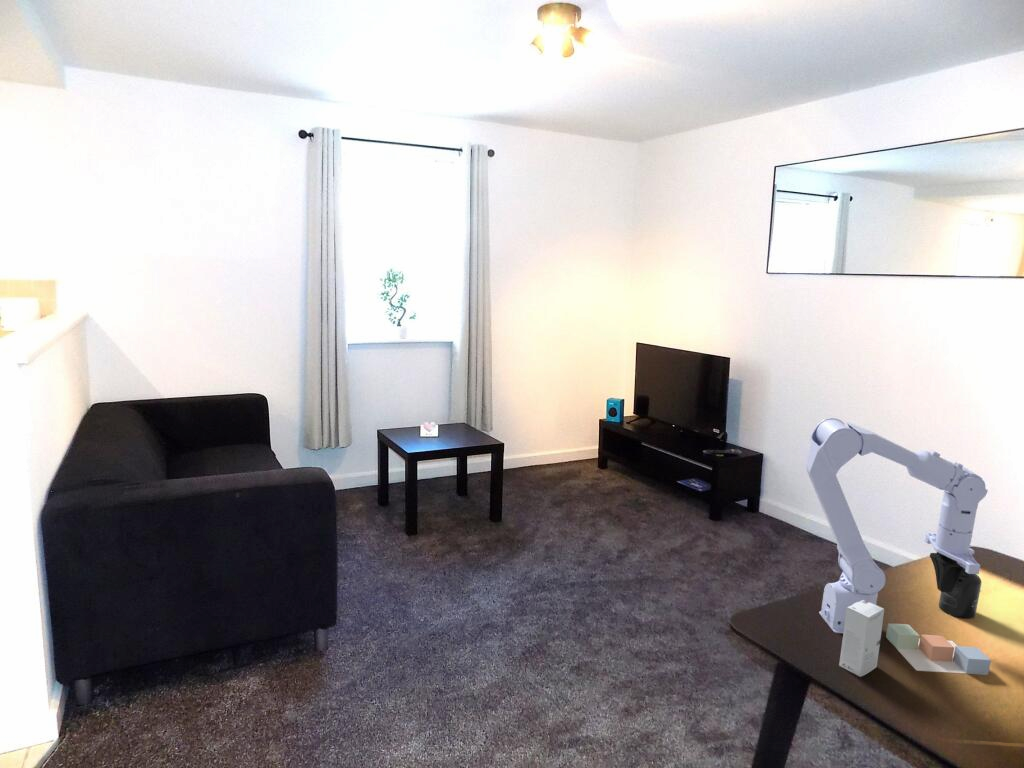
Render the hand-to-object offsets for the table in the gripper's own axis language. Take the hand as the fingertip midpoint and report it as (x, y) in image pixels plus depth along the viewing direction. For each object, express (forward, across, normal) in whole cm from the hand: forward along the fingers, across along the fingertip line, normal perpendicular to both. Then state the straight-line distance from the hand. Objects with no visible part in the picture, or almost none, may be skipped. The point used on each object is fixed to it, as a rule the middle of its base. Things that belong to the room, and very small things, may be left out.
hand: (944, 590), depth 133 cm
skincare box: (+10, -13, +22) cm, 27 cm away
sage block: (+10, -4, +10) cm, 14 cm away
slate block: (+10, -12, 0) cm, 15 cm away
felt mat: (+10, -8, +5) cm, 14 cm away
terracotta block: (+10, -8, +5) cm, 13 cm away
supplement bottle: (+10, +10, -10) cm, 17 cm away
